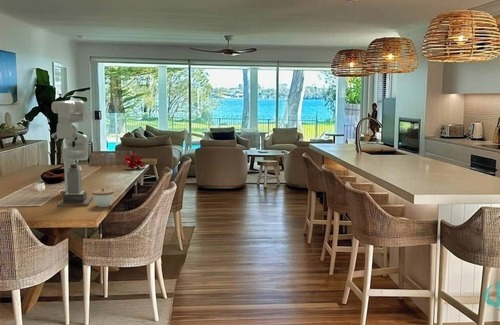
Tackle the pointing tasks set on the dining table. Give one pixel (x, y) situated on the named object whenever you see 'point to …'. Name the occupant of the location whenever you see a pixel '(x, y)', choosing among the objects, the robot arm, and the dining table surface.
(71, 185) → the perfume bottle
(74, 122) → the robot arm
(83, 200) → the stand
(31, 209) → the dining table surface
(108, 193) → the lidded bowl
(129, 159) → the sculptural form
